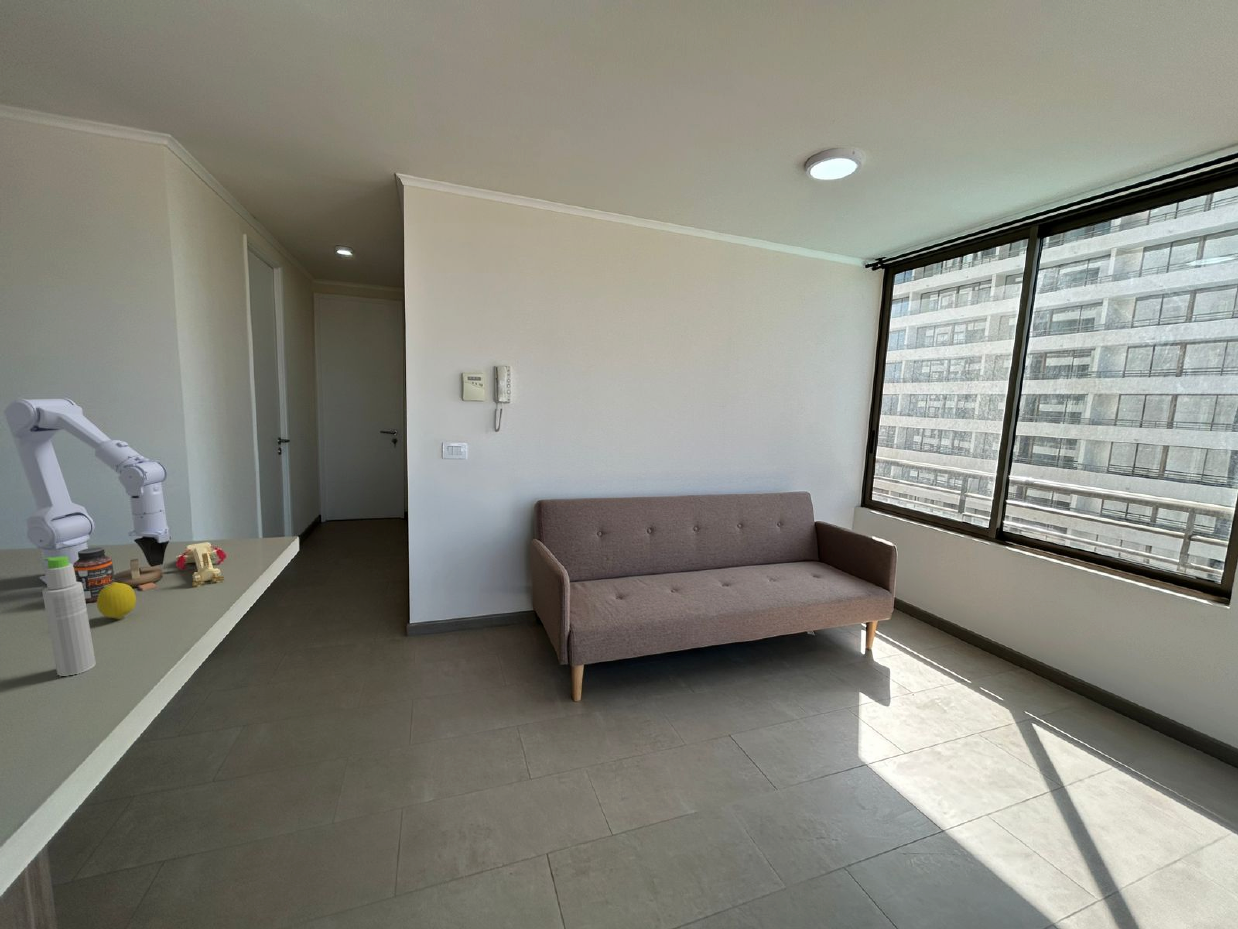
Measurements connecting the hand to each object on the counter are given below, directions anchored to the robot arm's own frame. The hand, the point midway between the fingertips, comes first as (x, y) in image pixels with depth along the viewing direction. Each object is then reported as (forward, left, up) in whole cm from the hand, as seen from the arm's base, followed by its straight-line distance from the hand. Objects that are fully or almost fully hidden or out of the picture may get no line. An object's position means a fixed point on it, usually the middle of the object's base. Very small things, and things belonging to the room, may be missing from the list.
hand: (156, 565), depth 118 cm
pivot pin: (-2, -3, -1) cm, 4 cm away
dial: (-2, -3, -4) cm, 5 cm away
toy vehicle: (+1, +9, -4) cm, 10 cm away
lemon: (+19, -12, -4) cm, 22 cm away
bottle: (+37, -22, -4) cm, 43 cm away
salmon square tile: (+4, -3, -4) cm, 6 cm away
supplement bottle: (+1, -11, -4) cm, 12 cm away
